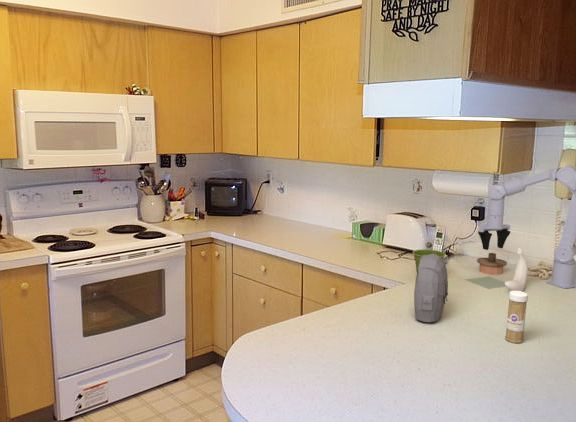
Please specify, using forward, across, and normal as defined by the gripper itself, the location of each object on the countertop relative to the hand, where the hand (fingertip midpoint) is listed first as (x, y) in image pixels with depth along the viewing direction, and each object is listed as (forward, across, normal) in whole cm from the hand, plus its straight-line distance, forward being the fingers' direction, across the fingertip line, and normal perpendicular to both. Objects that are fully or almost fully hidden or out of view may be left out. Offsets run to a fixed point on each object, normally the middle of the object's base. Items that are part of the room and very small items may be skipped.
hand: (492, 248), depth 204 cm
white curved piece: (+10, +10, +22) cm, 26 cm away
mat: (+10, +12, +11) cm, 19 cm away
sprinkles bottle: (+10, +45, +54) cm, 71 cm away
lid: (+6, 0, 0) cm, 6 cm away
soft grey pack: (+10, +56, +33) cm, 66 cm away
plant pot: (+10, +33, +2) cm, 35 cm away
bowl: (+10, 0, 0) cm, 10 cm away
